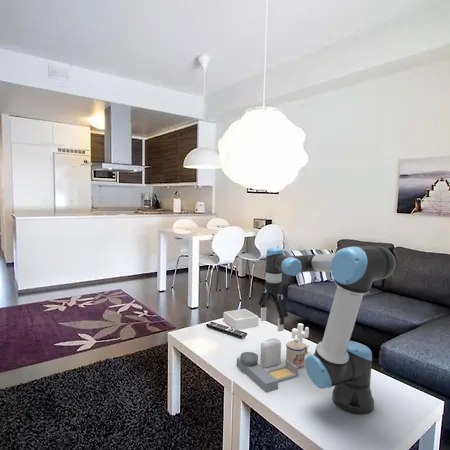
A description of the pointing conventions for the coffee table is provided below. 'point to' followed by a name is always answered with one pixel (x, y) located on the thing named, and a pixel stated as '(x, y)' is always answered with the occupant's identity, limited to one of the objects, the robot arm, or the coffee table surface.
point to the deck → (260, 375)
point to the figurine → (300, 333)
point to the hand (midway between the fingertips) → (271, 325)
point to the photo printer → (270, 352)
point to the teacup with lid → (296, 352)
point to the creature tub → (240, 319)
